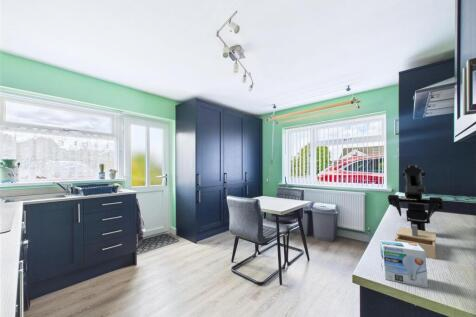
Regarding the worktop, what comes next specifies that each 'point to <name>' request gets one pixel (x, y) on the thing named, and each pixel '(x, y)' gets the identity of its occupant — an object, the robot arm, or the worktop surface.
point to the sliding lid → (417, 233)
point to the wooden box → (420, 244)
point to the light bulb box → (403, 262)
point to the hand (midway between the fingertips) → (413, 217)
